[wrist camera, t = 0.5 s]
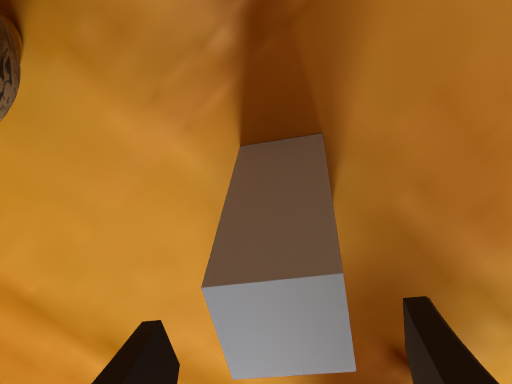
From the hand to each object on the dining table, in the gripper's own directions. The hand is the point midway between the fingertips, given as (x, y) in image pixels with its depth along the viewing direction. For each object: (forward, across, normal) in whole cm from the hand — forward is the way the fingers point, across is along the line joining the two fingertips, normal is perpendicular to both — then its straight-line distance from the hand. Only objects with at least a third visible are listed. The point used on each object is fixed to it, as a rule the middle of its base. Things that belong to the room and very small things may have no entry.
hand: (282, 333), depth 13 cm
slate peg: (+10, 0, 0) cm, 10 cm away
